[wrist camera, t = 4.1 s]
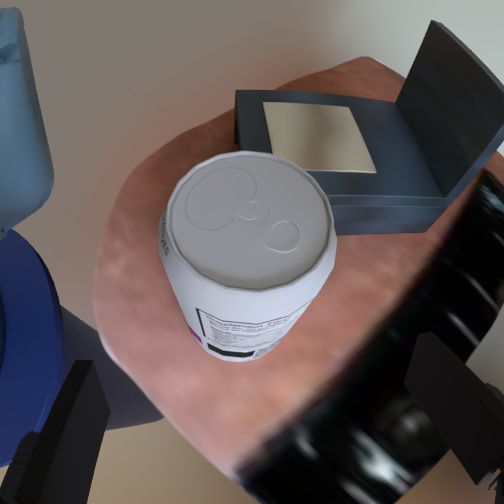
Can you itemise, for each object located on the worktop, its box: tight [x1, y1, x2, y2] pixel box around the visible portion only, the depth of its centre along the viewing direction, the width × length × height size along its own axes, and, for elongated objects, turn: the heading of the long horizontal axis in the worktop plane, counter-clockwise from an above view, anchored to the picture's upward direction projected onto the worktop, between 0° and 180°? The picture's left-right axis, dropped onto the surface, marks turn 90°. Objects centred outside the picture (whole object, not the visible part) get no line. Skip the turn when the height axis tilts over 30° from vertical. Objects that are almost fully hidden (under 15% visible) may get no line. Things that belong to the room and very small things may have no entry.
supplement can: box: [158, 151, 337, 362], centre depth 20 cm, size 8×8×15 cm
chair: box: [233, 20, 504, 235], centre depth 26 cm, size 20×14×18 cm
